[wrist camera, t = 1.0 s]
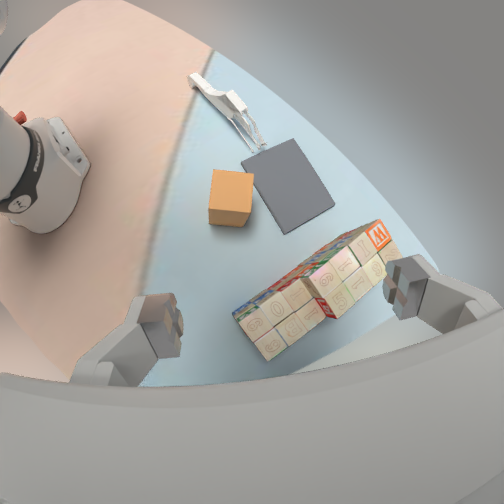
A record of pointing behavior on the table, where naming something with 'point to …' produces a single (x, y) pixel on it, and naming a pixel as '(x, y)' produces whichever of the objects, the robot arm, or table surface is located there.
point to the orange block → (230, 198)
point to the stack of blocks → (318, 288)
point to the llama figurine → (226, 105)
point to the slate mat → (288, 185)
